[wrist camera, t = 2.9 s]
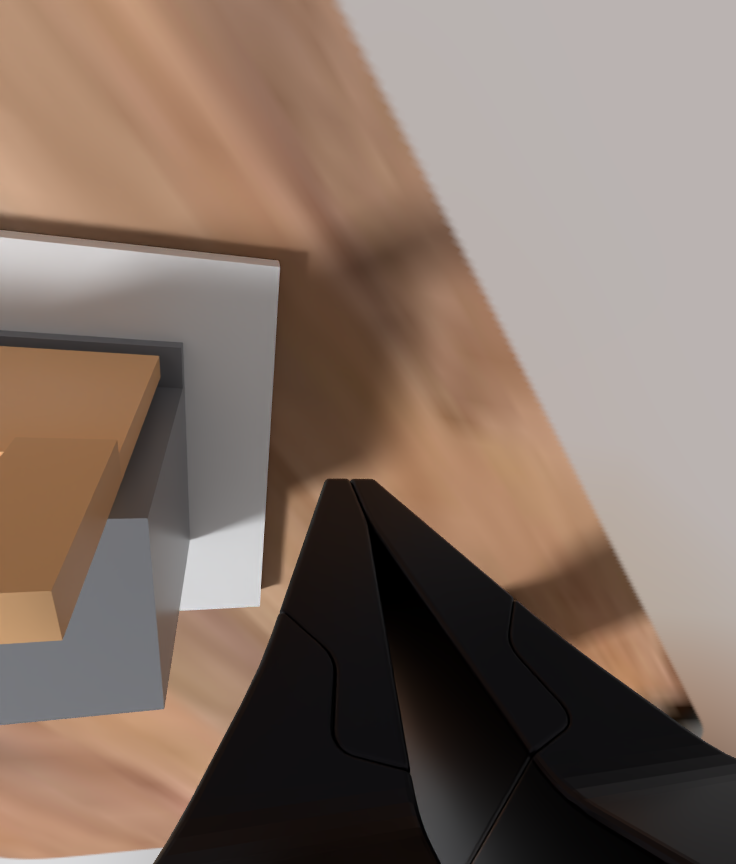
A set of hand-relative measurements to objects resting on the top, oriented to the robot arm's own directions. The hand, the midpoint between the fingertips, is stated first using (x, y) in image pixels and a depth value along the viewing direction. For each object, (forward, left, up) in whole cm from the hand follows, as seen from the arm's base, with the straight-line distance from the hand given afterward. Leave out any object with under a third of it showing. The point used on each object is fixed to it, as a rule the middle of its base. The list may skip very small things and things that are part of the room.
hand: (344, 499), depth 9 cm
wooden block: (+6, 0, -6) cm, 9 cm away
